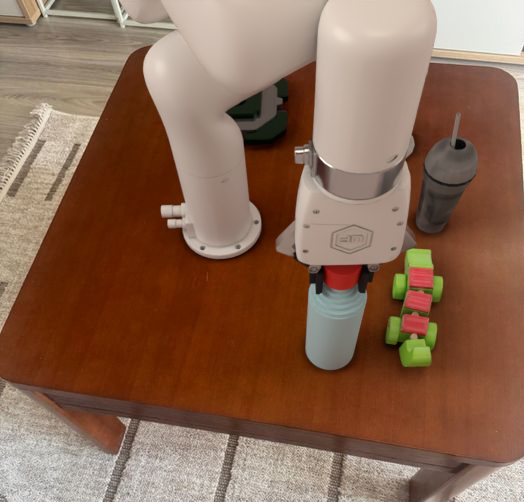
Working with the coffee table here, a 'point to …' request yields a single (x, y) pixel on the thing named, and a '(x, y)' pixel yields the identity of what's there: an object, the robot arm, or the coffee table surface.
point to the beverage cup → (445, 180)
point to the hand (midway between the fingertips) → (339, 282)
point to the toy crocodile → (415, 309)
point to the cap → (342, 276)
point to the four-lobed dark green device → (263, 115)
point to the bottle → (333, 325)
